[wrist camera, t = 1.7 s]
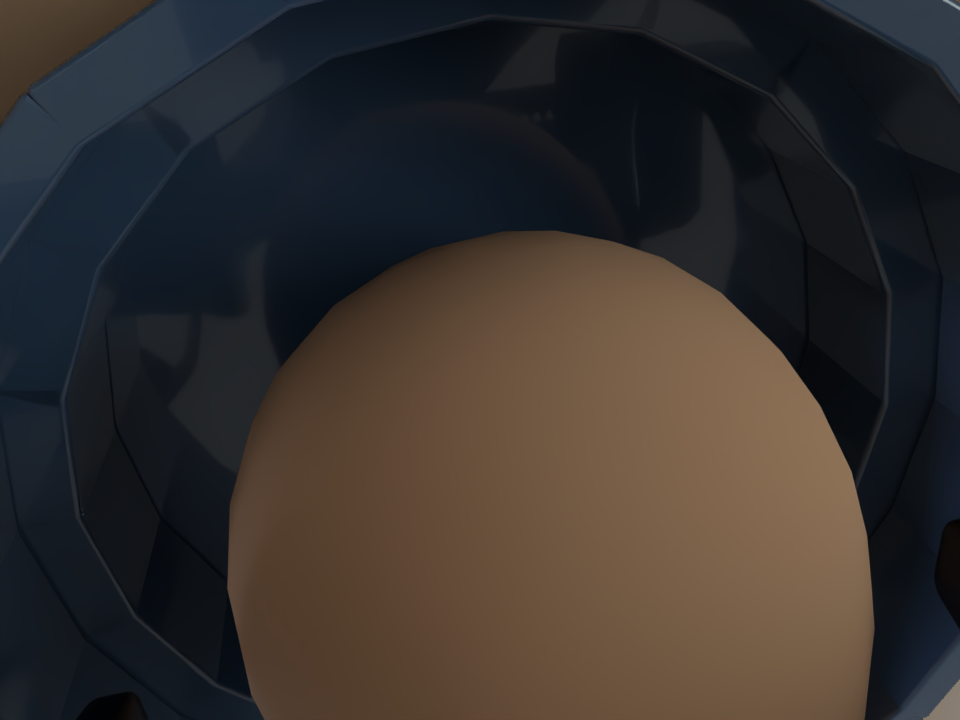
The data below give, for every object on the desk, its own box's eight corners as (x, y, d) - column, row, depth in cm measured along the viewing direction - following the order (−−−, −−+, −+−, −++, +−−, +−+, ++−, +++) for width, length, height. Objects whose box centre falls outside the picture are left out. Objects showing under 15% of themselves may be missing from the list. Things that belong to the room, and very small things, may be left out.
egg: (257, 131, 12) (166, 511, 4) (743, 185, 13) (1290, 528, 6) (243, 554, 15) (175, 1195, 7) (636, 556, 17) (902, 1083, 9)
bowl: (-61, 597, 15) (-218, 885, 10) (157, -342, 10) (28, -555, 5) (633, 720, 19) (726, 955, 15) (1029, 133, 14) (1347, 230, 10)
